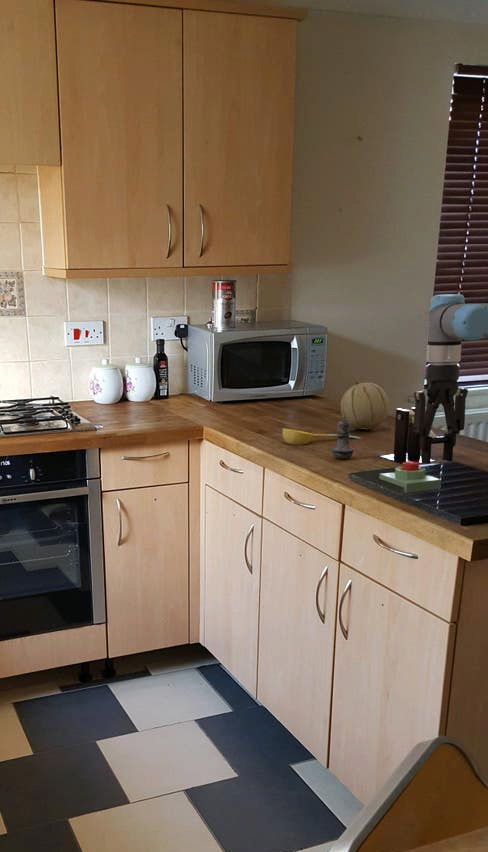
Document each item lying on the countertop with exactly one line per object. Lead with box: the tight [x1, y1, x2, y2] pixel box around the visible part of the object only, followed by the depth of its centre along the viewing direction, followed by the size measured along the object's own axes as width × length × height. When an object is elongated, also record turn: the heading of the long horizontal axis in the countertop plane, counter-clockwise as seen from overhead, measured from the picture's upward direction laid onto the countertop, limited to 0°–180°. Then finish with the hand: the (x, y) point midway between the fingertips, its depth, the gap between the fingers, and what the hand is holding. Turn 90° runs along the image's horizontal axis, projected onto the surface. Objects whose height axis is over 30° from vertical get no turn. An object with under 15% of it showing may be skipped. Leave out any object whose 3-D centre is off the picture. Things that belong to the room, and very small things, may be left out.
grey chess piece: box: [330, 416, 355, 461], centre depth 225 cm, size 6×6×12 cm
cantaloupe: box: [340, 380, 390, 429], centre depth 272 cm, size 15×15×15 cm
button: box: [401, 461, 420, 471], centre depth 199 cm, size 4×4×2 cm
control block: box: [378, 466, 442, 494], centre depth 199 cm, size 11×9×4 cm
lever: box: [407, 408, 449, 445], centre depth 216 cm, size 15×6×2 cm, turn 19°
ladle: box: [282, 427, 361, 446], centre depth 252 cm, size 9×26×6 cm, turn 107°
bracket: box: [378, 407, 437, 465], centre depth 222 cm, size 12×9×14 cm
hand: (436, 461), depth 212 cm, fingers closed on lever, 5 cm apart
